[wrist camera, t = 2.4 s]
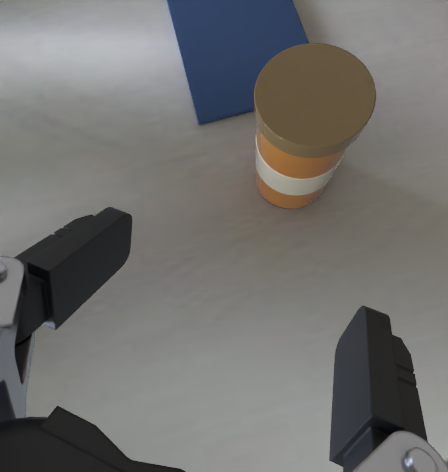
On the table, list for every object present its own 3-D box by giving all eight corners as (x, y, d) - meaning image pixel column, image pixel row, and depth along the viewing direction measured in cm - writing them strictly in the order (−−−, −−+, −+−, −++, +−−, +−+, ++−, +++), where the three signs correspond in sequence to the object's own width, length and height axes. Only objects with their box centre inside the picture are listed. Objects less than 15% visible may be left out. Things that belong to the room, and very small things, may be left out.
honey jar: (263, 220, 25) (272, 160, 16) (243, 152, 27) (240, 59, 17) (338, 200, 25) (394, 128, 16) (315, 133, 27) (352, 30, 17)
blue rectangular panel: (199, 125, 28) (198, 122, 27) (155, -46, 33) (154, -51, 32) (325, 91, 28) (326, 88, 27) (261, -75, 32) (261, -80, 32)
